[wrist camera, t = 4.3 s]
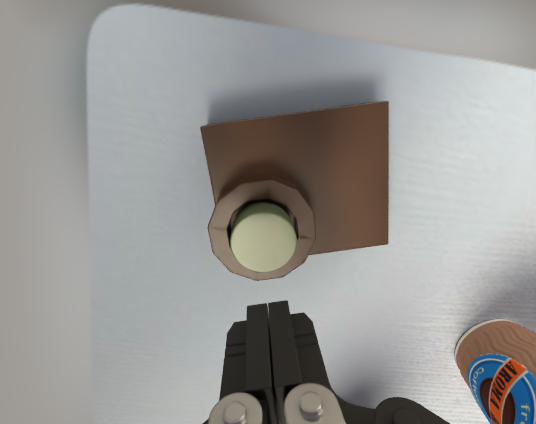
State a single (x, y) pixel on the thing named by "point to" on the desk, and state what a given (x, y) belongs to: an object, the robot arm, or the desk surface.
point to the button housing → (303, 178)
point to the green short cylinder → (263, 237)
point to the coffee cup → (500, 370)
